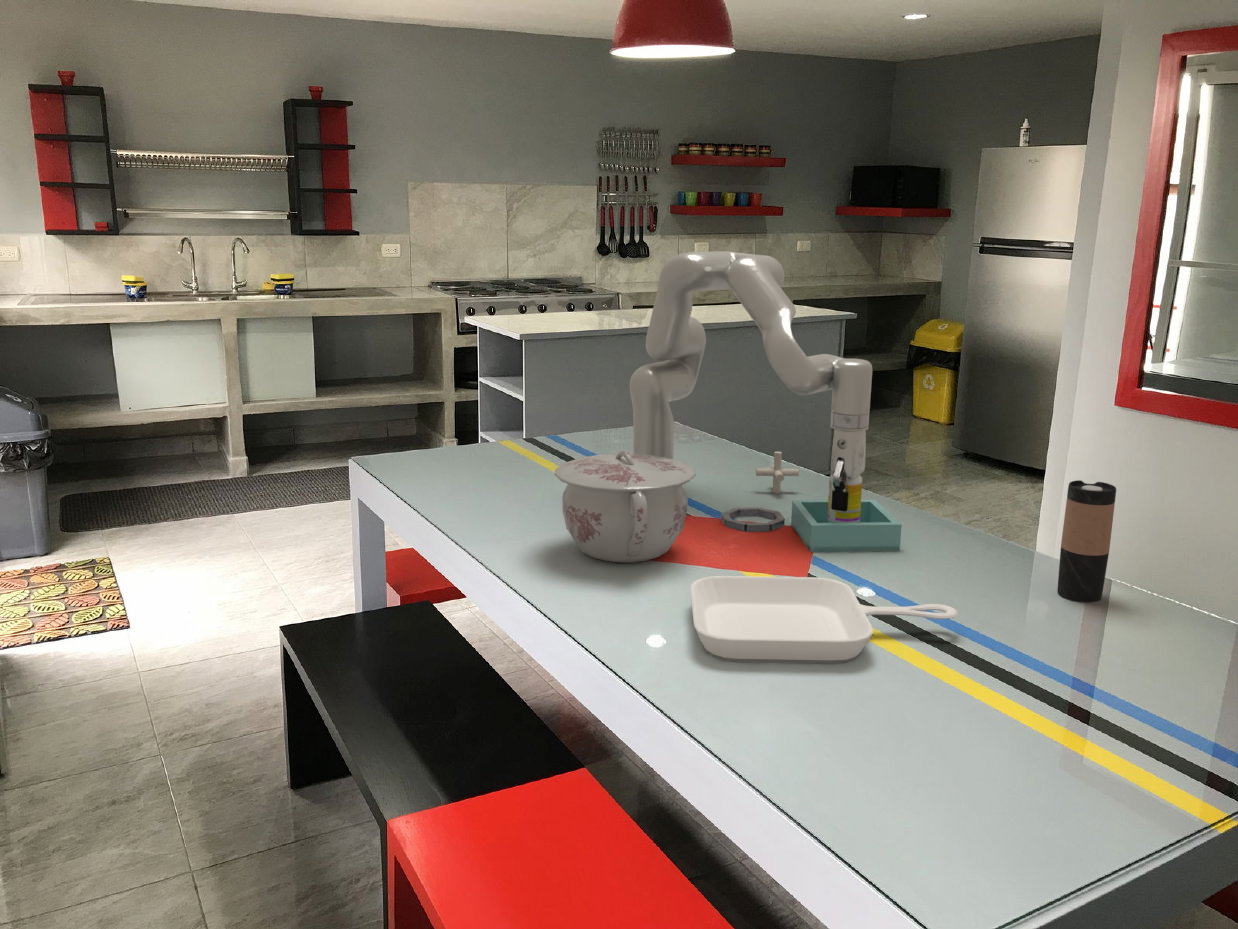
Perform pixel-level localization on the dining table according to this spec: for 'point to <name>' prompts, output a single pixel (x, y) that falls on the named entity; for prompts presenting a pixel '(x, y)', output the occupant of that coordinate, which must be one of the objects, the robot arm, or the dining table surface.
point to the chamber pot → (624, 504)
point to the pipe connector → (777, 472)
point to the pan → (787, 618)
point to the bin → (845, 528)
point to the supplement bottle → (853, 502)
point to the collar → (753, 527)
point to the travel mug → (1086, 540)
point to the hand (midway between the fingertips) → (844, 504)
